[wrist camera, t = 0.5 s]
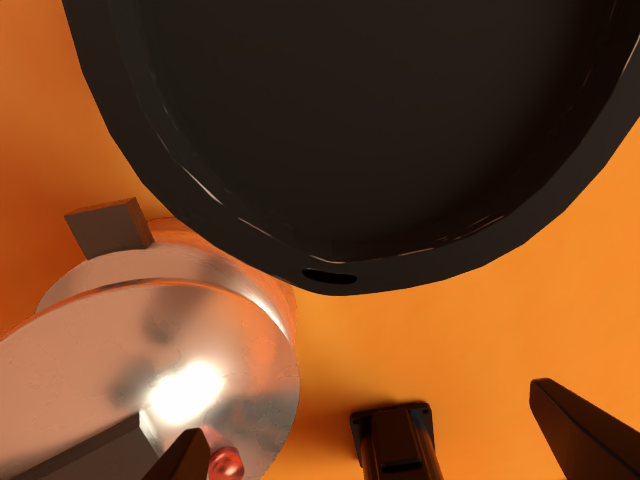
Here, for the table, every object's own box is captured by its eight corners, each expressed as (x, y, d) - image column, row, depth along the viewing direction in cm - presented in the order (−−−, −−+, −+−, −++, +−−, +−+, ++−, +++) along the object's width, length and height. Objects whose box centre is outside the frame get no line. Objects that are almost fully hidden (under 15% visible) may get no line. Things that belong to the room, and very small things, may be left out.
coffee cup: (242, 137, 19) (33, 271, 5) (257, -55, 15) (-304, -1432, 1) (390, 163, 19) (575, 346, 5) (436, -15, 16) (1219, -704, 2)
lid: (314, 435, 21) (331, 461, 19) (30, 620, 15) (17, 680, 14) (252, 229, 15) (267, 241, 14) (-232, 406, 10) (-308, 464, 8)
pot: (321, 392, 26) (321, 455, 22) (152, 418, 27) (119, 484, 23) (257, 160, 19) (238, 182, 14) (29, 207, 20) (-56, 242, 15)
